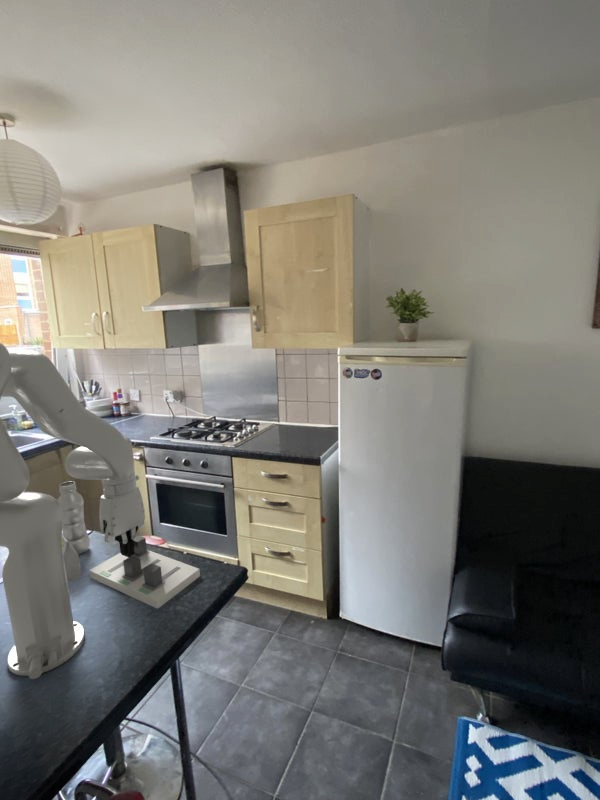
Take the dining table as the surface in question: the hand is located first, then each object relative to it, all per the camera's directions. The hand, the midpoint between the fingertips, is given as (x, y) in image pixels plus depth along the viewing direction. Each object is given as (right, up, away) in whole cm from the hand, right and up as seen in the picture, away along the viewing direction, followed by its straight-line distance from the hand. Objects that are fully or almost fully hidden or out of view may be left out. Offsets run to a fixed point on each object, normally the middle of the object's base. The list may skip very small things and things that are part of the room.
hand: (128, 554), depth 104 cm
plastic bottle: (-17, -3, +8) cm, 19 cm away
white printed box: (-14, -5, -1) cm, 15 cm away
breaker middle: (+4, -2, -7) cm, 8 cm away
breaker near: (+10, -3, -10) cm, 15 cm away
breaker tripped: (+2, -1, +3) cm, 3 cm away
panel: (+6, -4, -4) cm, 8 cm away
